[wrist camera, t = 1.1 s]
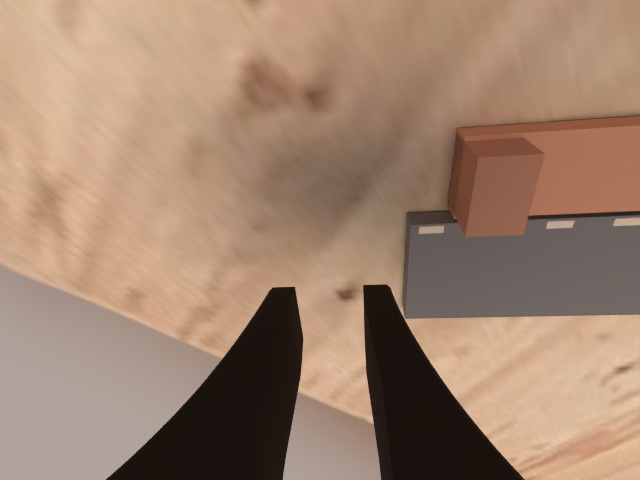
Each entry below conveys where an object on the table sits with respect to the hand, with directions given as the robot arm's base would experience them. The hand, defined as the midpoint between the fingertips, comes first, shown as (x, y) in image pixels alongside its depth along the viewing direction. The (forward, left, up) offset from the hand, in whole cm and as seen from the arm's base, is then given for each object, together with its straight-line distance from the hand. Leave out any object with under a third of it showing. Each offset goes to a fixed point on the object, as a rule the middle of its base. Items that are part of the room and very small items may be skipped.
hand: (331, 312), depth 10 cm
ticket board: (-10, +6, -9) cm, 15 cm away
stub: (-10, 0, -9) cm, 14 cm away
